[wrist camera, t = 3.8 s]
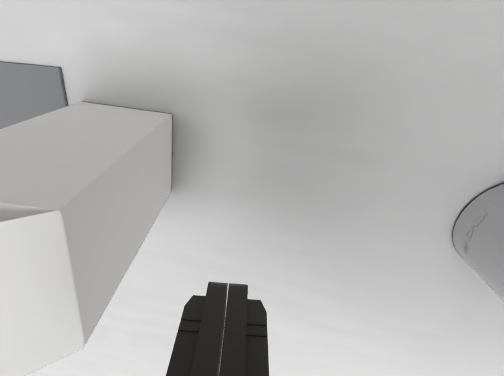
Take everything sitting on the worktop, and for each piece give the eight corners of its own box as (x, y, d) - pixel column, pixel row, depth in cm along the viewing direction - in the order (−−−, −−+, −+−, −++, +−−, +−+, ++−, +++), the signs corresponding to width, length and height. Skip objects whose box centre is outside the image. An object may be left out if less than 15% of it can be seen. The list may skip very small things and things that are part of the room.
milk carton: (173, 113, 23) (-51, 306, 6) (171, 192, 27) (19, 464, 9) (81, 100, 23) (-415, 268, 6) (90, 182, 26) (-218, 446, 9)
